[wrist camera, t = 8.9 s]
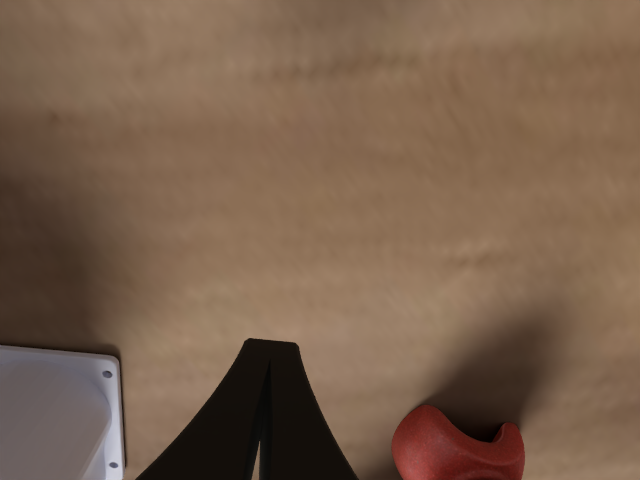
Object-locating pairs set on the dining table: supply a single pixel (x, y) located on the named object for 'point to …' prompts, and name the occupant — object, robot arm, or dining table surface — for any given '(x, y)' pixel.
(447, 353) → the dining table surface
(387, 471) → the dining table surface
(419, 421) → the colourful wooden stacking toy
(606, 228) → the dining table surface
